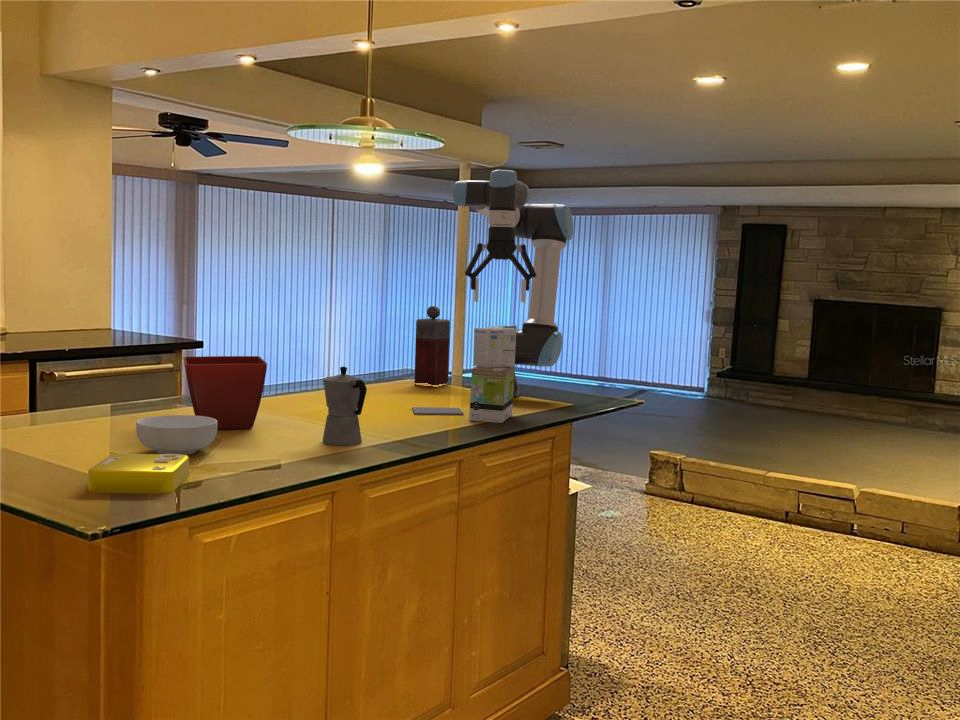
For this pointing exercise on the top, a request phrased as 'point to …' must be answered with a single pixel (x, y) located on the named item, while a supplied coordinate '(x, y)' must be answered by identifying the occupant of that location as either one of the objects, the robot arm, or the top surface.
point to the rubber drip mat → (436, 411)
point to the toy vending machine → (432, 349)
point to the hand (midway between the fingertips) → (499, 302)
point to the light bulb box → (494, 347)
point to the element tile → (139, 473)
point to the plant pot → (226, 388)
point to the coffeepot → (343, 409)
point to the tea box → (491, 394)
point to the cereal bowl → (176, 433)
